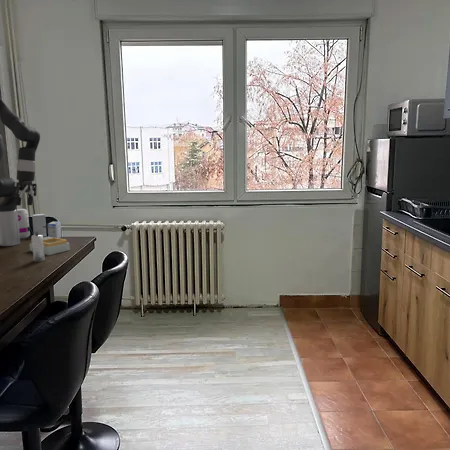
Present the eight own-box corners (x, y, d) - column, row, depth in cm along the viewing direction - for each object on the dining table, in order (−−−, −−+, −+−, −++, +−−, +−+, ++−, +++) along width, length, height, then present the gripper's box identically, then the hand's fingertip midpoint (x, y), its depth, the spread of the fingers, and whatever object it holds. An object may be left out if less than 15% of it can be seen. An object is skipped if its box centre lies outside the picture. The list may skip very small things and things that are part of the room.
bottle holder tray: (30, 250, 198) (29, 240, 197) (51, 246, 207) (50, 236, 206) (48, 255, 189) (47, 244, 188) (70, 250, 198) (69, 239, 197)
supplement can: (22, 238, 224) (19, 211, 221) (9, 238, 226) (6, 210, 224) (33, 235, 231) (30, 208, 229) (21, 234, 234) (18, 208, 231)
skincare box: (35, 237, 226) (32, 215, 224) (33, 236, 229) (31, 214, 227) (47, 236, 229) (45, 214, 227) (45, 235, 233) (43, 213, 231)
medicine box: (53, 237, 227) (52, 221, 226) (61, 237, 227) (60, 221, 226) (48, 240, 219) (47, 224, 218) (57, 240, 220) (55, 223, 218)
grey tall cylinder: (31, 260, 180) (28, 232, 178) (41, 258, 184) (38, 230, 181) (37, 262, 178) (34, 233, 175) (47, 260, 181) (44, 231, 179)
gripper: (28, 170, 202) (26, 204, 203) (8, 168, 188) (6, 204, 189) (42, 172, 201) (40, 205, 202) (23, 169, 187) (21, 206, 188)
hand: (24, 205), depth 195 cm, fingers open, 8 cm apart
